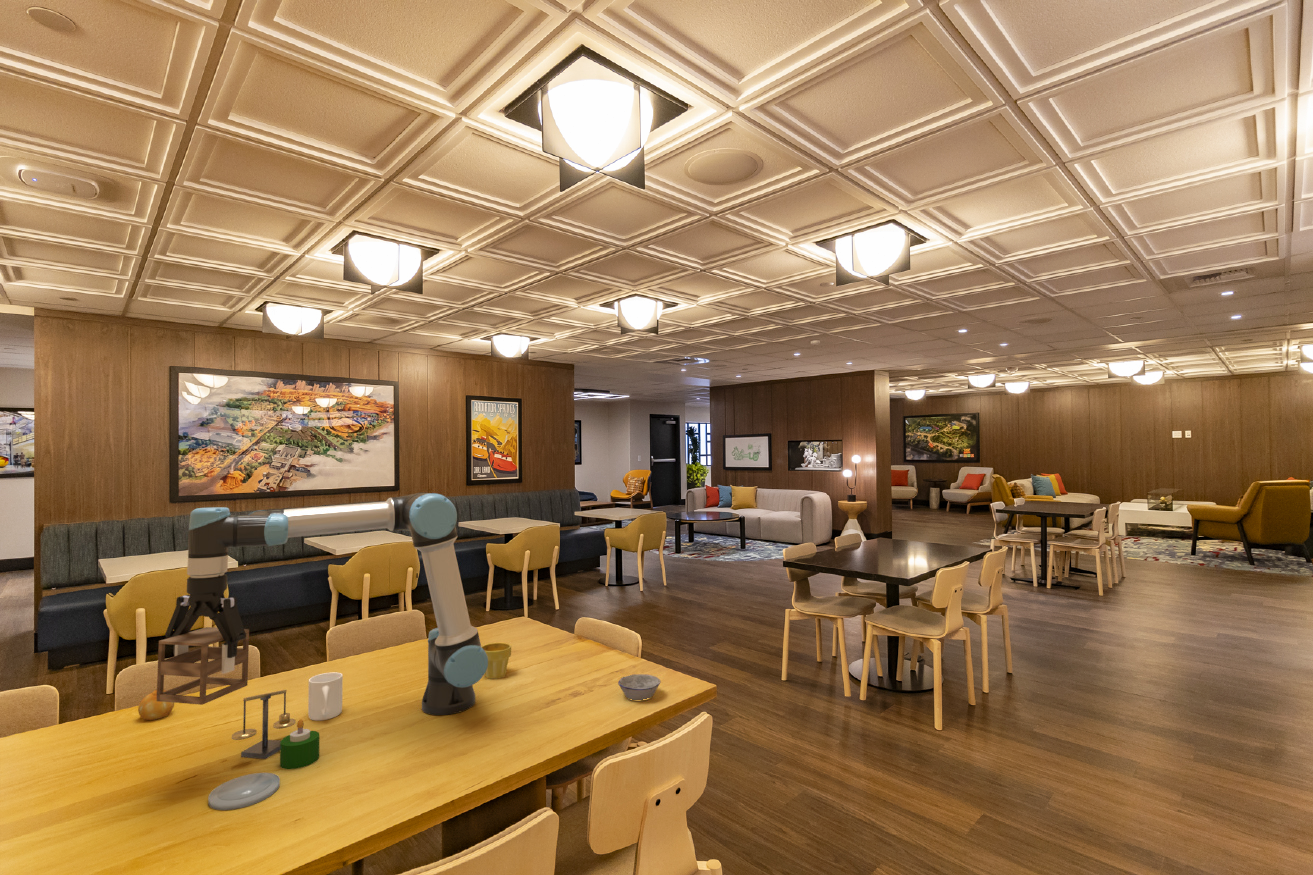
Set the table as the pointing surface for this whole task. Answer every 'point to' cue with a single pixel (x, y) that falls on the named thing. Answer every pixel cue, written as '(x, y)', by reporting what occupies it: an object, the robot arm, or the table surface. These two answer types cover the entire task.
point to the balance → (264, 729)
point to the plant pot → (497, 659)
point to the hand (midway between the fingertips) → (204, 670)
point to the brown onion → (154, 707)
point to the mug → (325, 696)
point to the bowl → (639, 686)
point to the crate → (199, 666)
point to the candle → (299, 748)
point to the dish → (243, 791)
